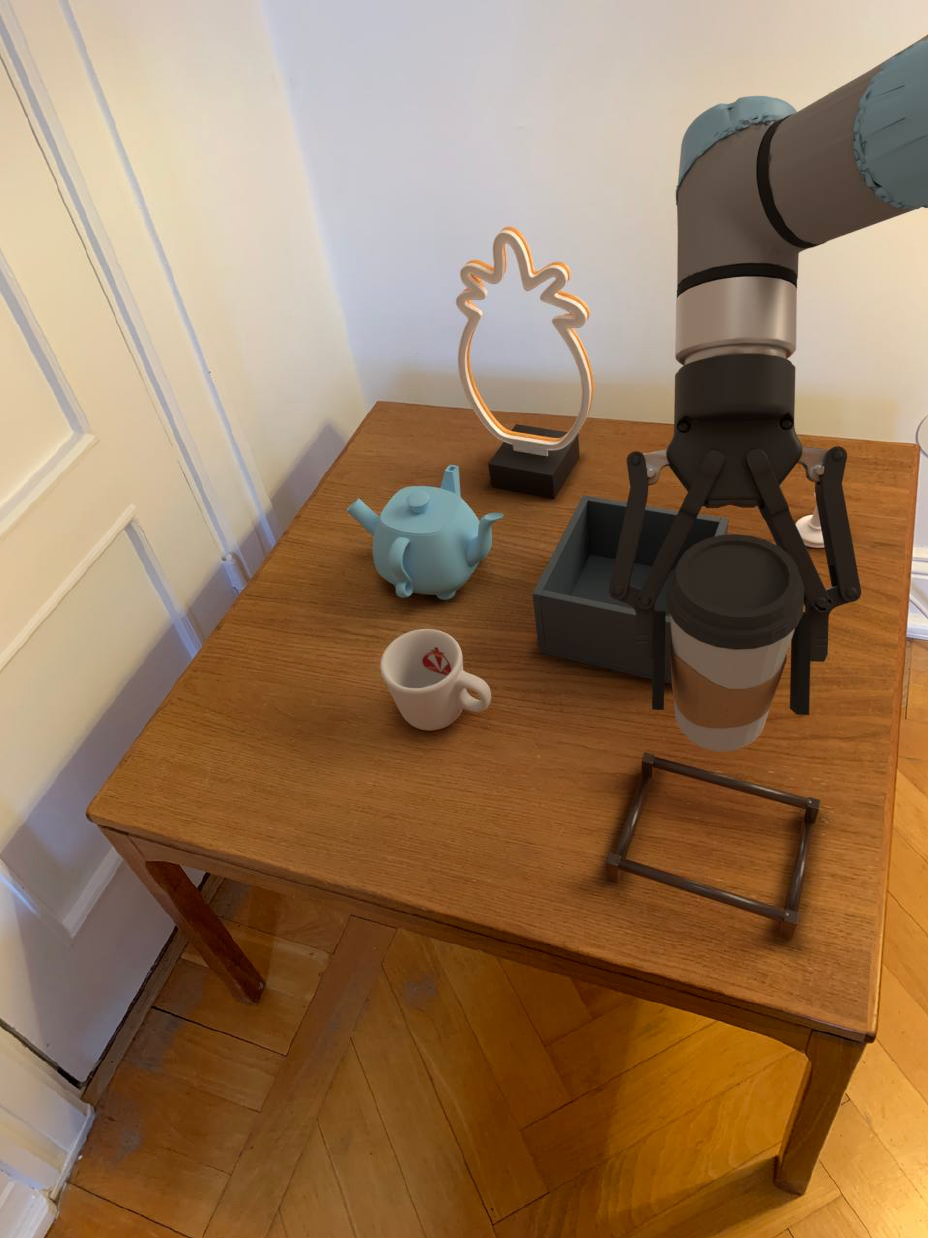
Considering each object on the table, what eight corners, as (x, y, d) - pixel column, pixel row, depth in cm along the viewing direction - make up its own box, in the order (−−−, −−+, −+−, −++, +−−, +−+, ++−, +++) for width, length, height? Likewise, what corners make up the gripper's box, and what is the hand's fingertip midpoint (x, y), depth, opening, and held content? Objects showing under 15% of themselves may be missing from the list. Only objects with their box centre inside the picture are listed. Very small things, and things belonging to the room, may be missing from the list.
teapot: (478, 517, 107) (465, 442, 99) (514, 588, 98) (503, 512, 89) (360, 554, 106) (337, 481, 97) (386, 629, 96) (363, 556, 88)
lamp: (608, 462, 111) (603, 212, 88) (584, 505, 106) (571, 251, 83) (491, 442, 117) (458, 205, 94) (463, 481, 112) (420, 241, 89)
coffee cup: (803, 724, 62) (840, 576, 51) (720, 788, 59) (740, 647, 49) (717, 657, 67) (734, 510, 56) (637, 714, 65) (638, 571, 54)
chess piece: (841, 522, 98) (858, 450, 90) (837, 551, 95) (855, 478, 87) (795, 516, 99) (809, 445, 92) (790, 544, 96) (803, 473, 89)
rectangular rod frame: (815, 818, 74) (821, 799, 71) (791, 940, 67) (797, 924, 65) (644, 770, 79) (644, 751, 77) (606, 879, 73) (605, 862, 70)
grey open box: (722, 580, 94) (729, 518, 87) (686, 688, 85) (691, 627, 78) (585, 555, 100) (582, 494, 93) (538, 652, 91) (532, 593, 84)
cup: (510, 695, 87) (501, 644, 82) (479, 758, 83) (468, 708, 77) (416, 670, 91) (402, 620, 86) (382, 729, 87) (364, 679, 81)
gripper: (892, 370, 57) (883, 707, 58) (575, 383, 62) (572, 696, 63) (929, 339, 50) (917, 725, 51) (566, 356, 54) (562, 711, 55)
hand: (727, 709), depth 57 cm, fingers closed on coffee cup, 8 cm apart
